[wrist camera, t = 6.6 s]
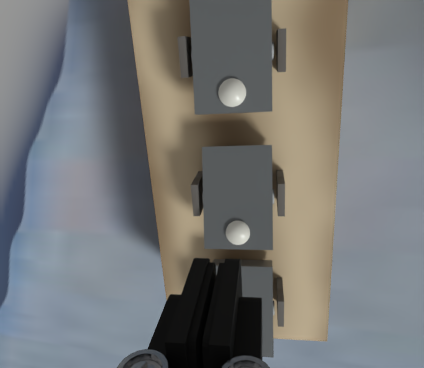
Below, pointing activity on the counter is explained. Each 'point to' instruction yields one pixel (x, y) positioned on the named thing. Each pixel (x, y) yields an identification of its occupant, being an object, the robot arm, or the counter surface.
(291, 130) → the switch unit
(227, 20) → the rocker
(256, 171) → the rocker middle
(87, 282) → the counter surface
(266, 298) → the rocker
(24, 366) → the counter surface
